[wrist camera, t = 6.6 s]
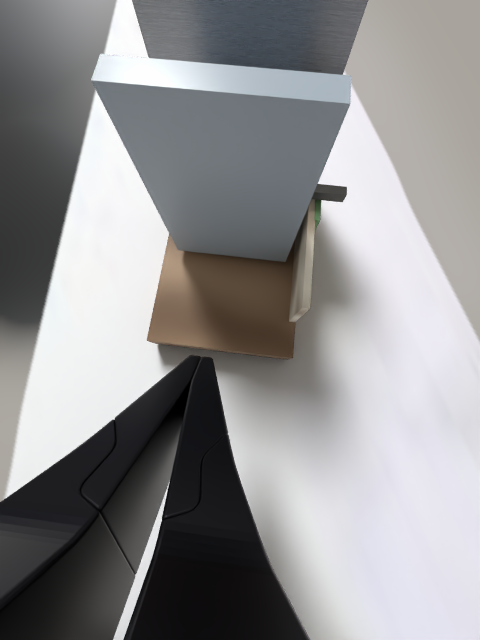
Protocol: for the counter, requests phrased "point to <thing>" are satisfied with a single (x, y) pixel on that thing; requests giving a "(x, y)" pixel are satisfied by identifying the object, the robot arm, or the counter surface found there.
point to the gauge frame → (235, 298)
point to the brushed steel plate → (252, 32)
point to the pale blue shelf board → (226, 147)
